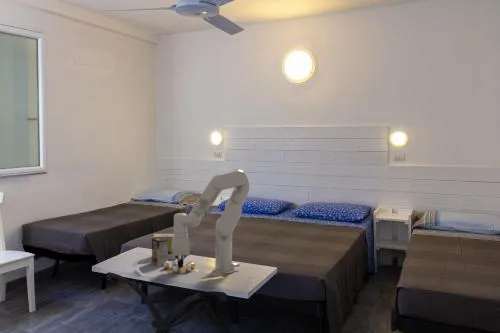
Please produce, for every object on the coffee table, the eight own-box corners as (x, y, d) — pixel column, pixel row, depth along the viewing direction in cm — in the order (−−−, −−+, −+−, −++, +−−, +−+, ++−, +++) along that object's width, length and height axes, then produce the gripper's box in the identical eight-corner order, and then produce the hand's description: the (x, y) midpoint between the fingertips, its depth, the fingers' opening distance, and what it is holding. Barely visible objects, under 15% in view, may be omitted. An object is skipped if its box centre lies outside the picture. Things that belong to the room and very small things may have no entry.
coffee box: (151, 264, 257) (151, 238, 256) (161, 263, 261) (161, 237, 260) (158, 268, 250) (158, 241, 249) (168, 266, 254) (168, 239, 253)
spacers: (183, 265, 252) (183, 258, 252) (191, 272, 240) (191, 264, 240) (162, 268, 246) (162, 261, 246) (170, 274, 234) (170, 267, 234)
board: (190, 266, 255) (190, 264, 255) (199, 273, 241) (199, 271, 241) (162, 269, 247) (162, 267, 247) (170, 277, 233) (170, 275, 233)
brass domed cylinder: (193, 266, 250) (193, 261, 250) (196, 268, 246) (196, 263, 246) (186, 267, 248) (186, 262, 248) (188, 269, 244) (188, 264, 244)
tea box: (177, 255, 279) (177, 233, 278) (175, 259, 268) (176, 236, 268) (154, 255, 277) (154, 233, 277) (151, 260, 267) (151, 236, 267)
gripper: (190, 232, 250) (190, 263, 251) (165, 234, 243) (165, 266, 244) (195, 235, 243) (195, 266, 244) (169, 237, 236) (169, 270, 237)
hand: (180, 266), depth 244 cm, fingers closed
